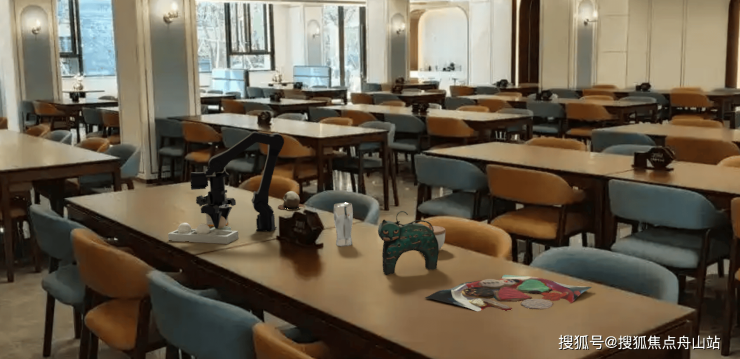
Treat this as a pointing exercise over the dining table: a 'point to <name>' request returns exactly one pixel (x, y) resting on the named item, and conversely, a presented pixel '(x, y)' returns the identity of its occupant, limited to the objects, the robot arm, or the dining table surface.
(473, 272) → the dining table surface
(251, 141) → the robot arm
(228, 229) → the egg stand
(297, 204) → the skull
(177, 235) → the carton
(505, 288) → the platter
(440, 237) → the lidded jar
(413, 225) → the ceramic cat
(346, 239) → the beer glass
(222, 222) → the brown egg
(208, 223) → the supplement box
